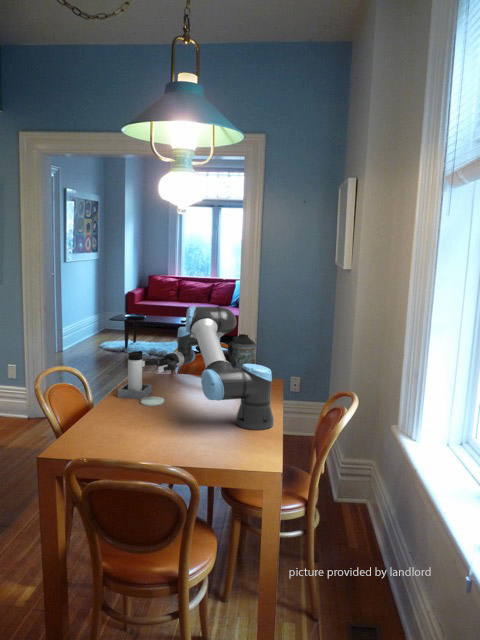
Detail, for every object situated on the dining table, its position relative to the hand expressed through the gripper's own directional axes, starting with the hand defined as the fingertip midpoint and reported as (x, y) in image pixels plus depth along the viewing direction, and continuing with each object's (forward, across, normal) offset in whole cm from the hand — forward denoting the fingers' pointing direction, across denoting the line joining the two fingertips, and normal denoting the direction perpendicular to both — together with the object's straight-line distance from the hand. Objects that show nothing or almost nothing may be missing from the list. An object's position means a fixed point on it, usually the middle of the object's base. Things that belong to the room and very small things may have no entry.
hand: (146, 368), depth 235 cm
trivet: (+13, -14, -11) cm, 22 cm away
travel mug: (+8, 0, -11) cm, 14 cm away
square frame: (+8, 0, -11) cm, 14 cm away
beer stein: (-39, -29, -11) cm, 50 cm away
